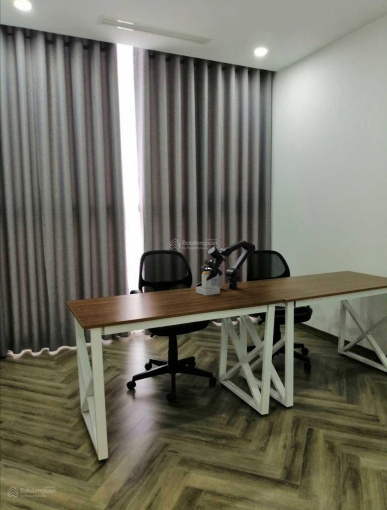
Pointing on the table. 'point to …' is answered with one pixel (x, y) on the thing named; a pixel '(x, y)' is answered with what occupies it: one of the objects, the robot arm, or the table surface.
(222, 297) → the table surface
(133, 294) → the table surface
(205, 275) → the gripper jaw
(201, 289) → the housing
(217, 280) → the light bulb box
